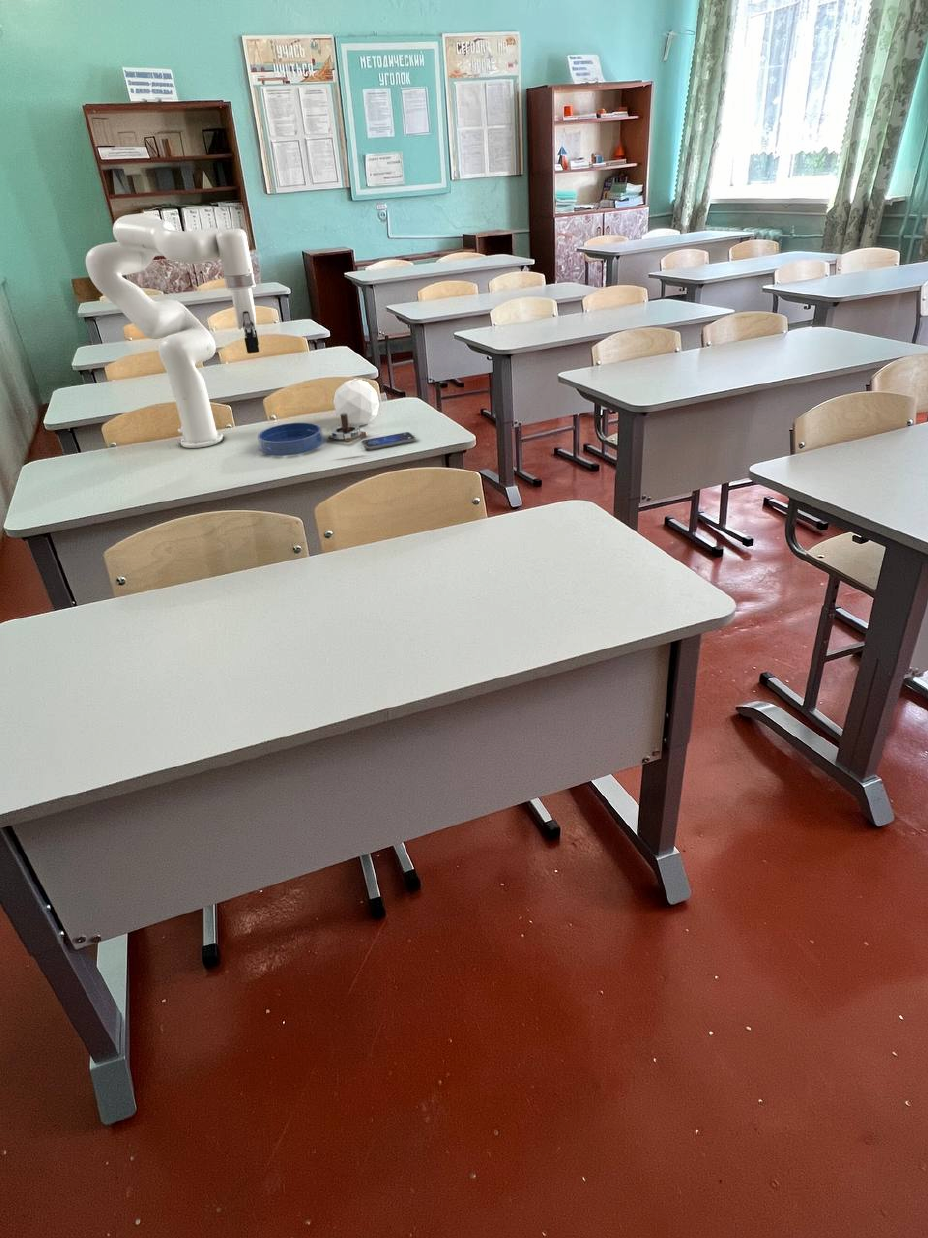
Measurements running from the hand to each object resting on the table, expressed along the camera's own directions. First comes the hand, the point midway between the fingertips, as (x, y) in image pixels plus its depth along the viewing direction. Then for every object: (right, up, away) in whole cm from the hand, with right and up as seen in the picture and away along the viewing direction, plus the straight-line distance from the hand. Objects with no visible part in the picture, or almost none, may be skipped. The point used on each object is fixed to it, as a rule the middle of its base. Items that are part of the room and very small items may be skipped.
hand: (253, 348), depth 208 cm
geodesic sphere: (+25, -13, +30) cm, 41 cm away
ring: (+23, -20, +16) cm, 34 cm away
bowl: (+8, -24, +14) cm, 29 cm away
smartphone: (+36, -23, +12) cm, 44 cm away
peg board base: (+23, -21, +18) cm, 36 cm away
